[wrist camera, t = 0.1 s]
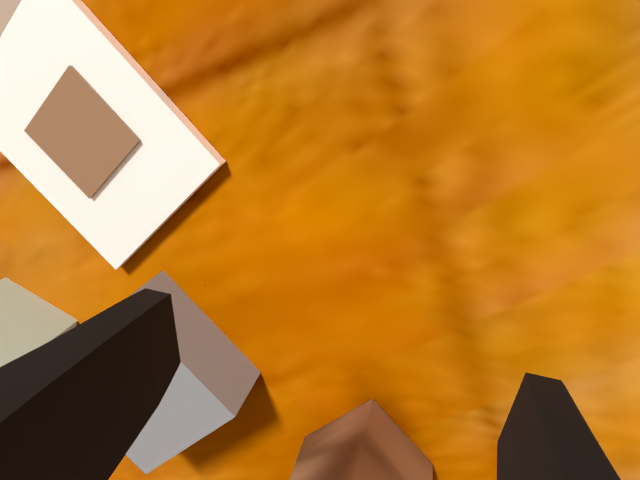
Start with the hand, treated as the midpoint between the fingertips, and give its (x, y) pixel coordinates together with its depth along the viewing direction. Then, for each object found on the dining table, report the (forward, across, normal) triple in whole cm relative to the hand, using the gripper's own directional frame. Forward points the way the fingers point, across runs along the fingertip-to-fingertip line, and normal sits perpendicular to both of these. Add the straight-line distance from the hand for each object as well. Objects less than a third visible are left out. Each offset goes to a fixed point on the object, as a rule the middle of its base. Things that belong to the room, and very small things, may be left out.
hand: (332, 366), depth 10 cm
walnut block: (+8, -1, +14) cm, 17 cm away
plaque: (+10, +14, 0) cm, 17 cm away
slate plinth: (+9, +10, +12) cm, 18 cm away
